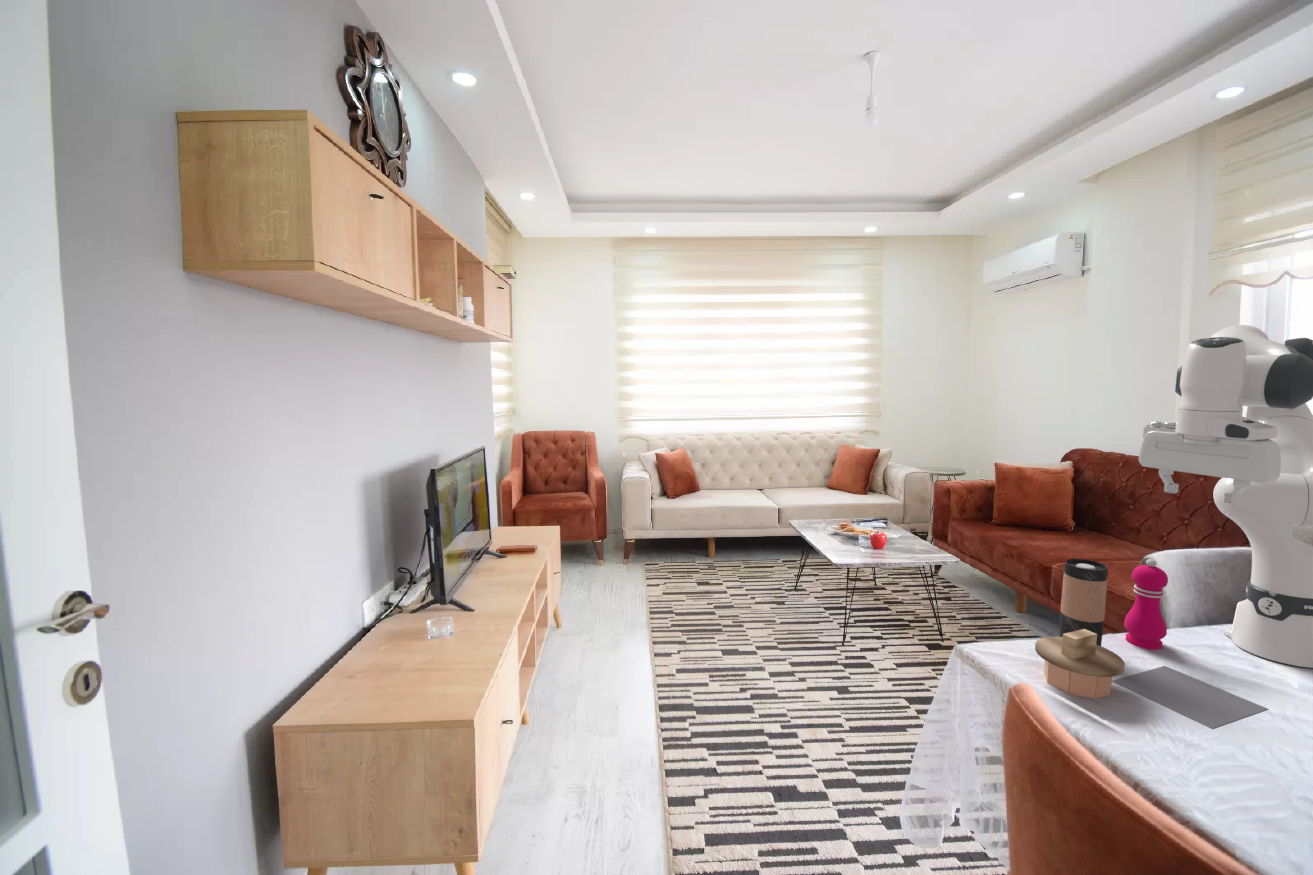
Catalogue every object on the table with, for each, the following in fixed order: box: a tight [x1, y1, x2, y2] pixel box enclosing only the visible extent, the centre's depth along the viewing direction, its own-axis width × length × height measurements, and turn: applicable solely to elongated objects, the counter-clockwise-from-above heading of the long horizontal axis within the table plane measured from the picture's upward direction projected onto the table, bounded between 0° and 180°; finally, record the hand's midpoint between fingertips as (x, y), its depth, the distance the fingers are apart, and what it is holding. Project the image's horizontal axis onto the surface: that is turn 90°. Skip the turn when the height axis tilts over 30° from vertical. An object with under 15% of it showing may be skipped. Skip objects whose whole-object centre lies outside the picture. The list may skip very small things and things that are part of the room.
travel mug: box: [1059, 558, 1109, 647], centre depth 124 cm, size 8×8×20 cm
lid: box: [1034, 629, 1126, 677], centre depth 111 cm, size 14×14×5 cm
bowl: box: [1043, 660, 1113, 700], centre depth 112 cm, size 10×10×6 cm
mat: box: [1112, 665, 1269, 730], centre depth 108 cm, size 16×16×1 cm
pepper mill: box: [1123, 558, 1169, 651], centre depth 127 cm, size 7×7×20 cm
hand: (1199, 497), depth 109 cm, fingers open, 8 cm apart
